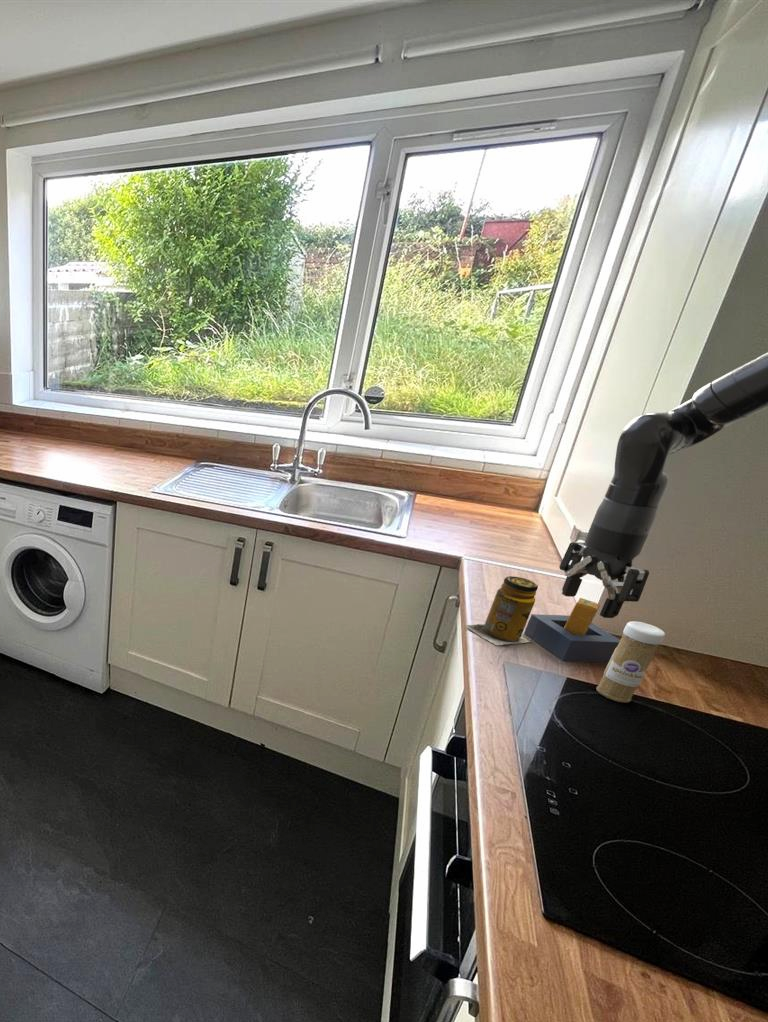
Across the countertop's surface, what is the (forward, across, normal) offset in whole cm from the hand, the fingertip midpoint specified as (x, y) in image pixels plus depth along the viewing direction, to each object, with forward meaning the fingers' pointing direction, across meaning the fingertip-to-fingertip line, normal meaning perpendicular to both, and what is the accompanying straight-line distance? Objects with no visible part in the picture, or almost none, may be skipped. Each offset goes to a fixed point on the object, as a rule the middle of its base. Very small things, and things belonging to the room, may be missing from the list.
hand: (586, 605), depth 109 cm
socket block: (+9, 0, 0) cm, 9 cm away
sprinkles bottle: (+10, -15, +4) cm, 18 cm away
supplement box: (+10, 0, 0) cm, 10 cm away
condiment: (+10, +4, +11) cm, 15 cm away
